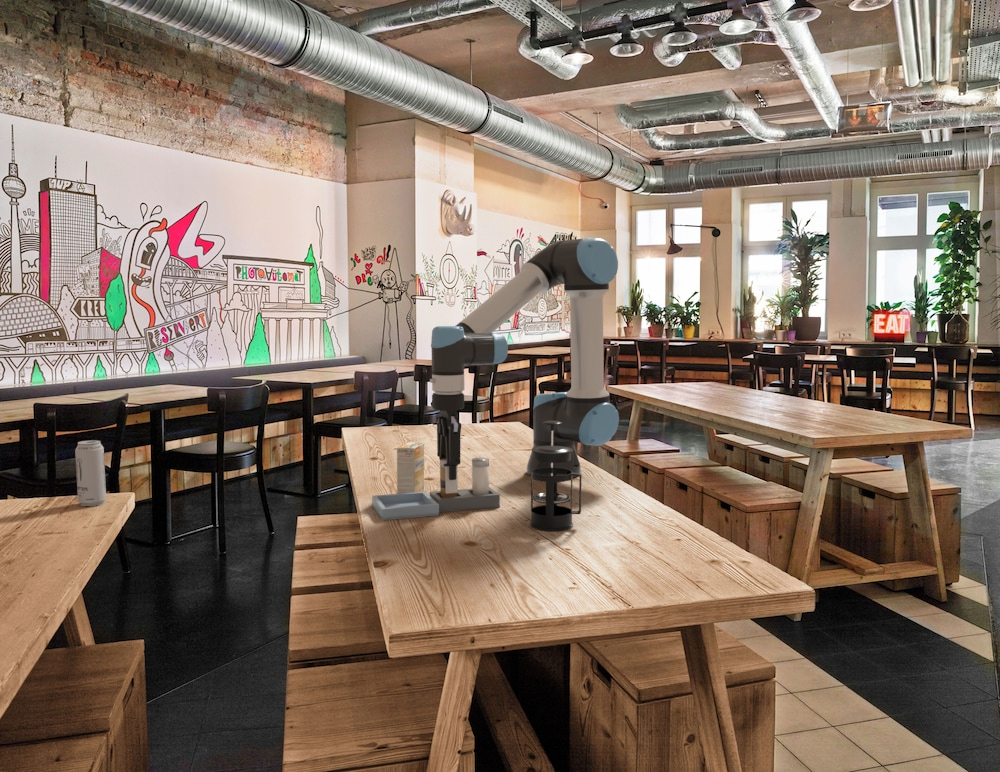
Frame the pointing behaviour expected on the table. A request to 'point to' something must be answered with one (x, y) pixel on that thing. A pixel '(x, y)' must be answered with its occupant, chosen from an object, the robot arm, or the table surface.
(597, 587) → the table surface
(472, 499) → the fuse block
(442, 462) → the fuse
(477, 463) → the cylinder
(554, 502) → the french press
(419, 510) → the parts tray
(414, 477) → the supplement box
